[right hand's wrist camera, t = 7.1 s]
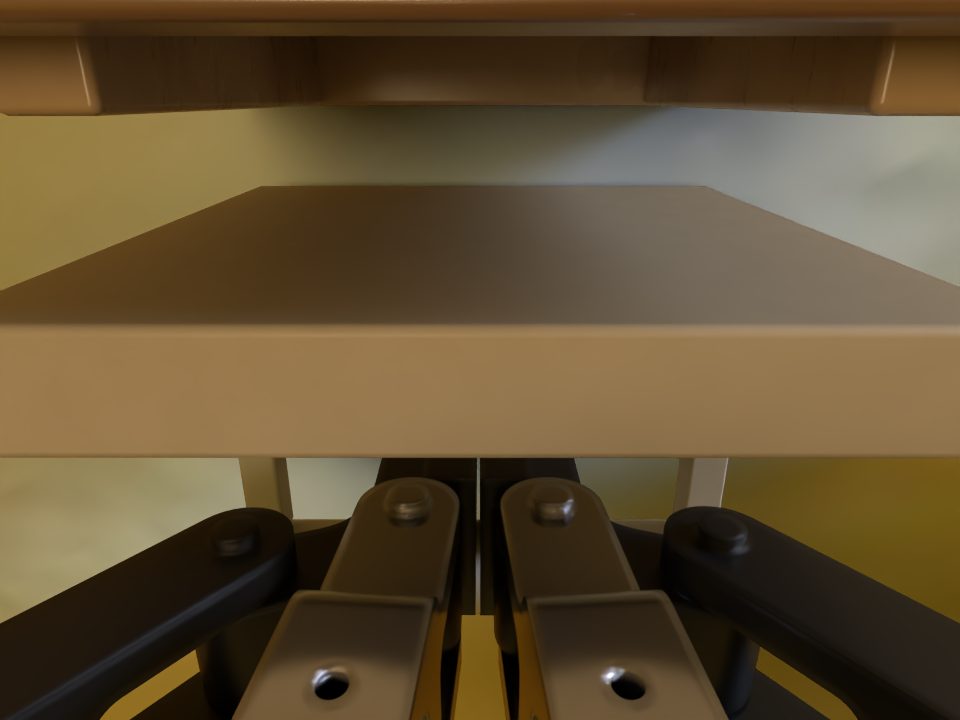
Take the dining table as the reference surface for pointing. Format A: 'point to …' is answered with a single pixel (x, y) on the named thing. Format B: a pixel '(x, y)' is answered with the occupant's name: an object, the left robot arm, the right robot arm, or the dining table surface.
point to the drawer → (481, 277)
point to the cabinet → (479, 17)
